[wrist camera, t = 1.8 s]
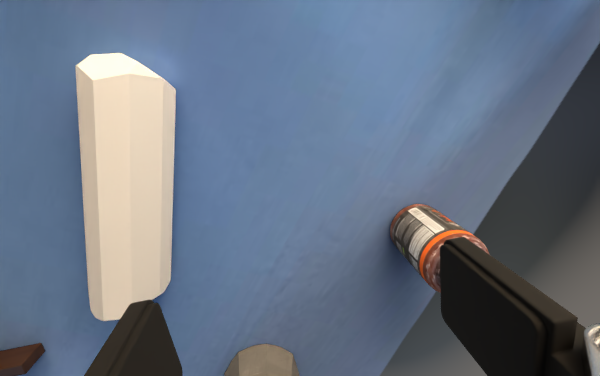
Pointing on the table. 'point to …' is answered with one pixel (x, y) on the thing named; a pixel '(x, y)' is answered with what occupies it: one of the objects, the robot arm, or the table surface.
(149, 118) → the crystal
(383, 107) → the table surface
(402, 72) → the table surface
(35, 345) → the frame
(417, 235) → the supplement bottle
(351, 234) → the table surface
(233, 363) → the coffeepot
